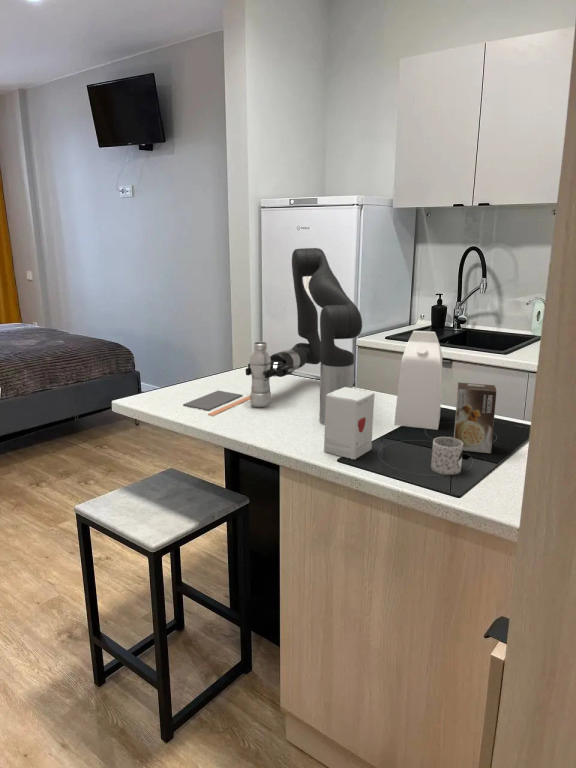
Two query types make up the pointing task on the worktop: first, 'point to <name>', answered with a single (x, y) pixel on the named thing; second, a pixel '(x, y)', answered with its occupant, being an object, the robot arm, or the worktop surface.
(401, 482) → the worktop surface
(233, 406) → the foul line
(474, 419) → the brown food box
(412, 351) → the milk
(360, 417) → the supplement box
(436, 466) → the mug
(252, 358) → the plastic bottle
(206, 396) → the mat
